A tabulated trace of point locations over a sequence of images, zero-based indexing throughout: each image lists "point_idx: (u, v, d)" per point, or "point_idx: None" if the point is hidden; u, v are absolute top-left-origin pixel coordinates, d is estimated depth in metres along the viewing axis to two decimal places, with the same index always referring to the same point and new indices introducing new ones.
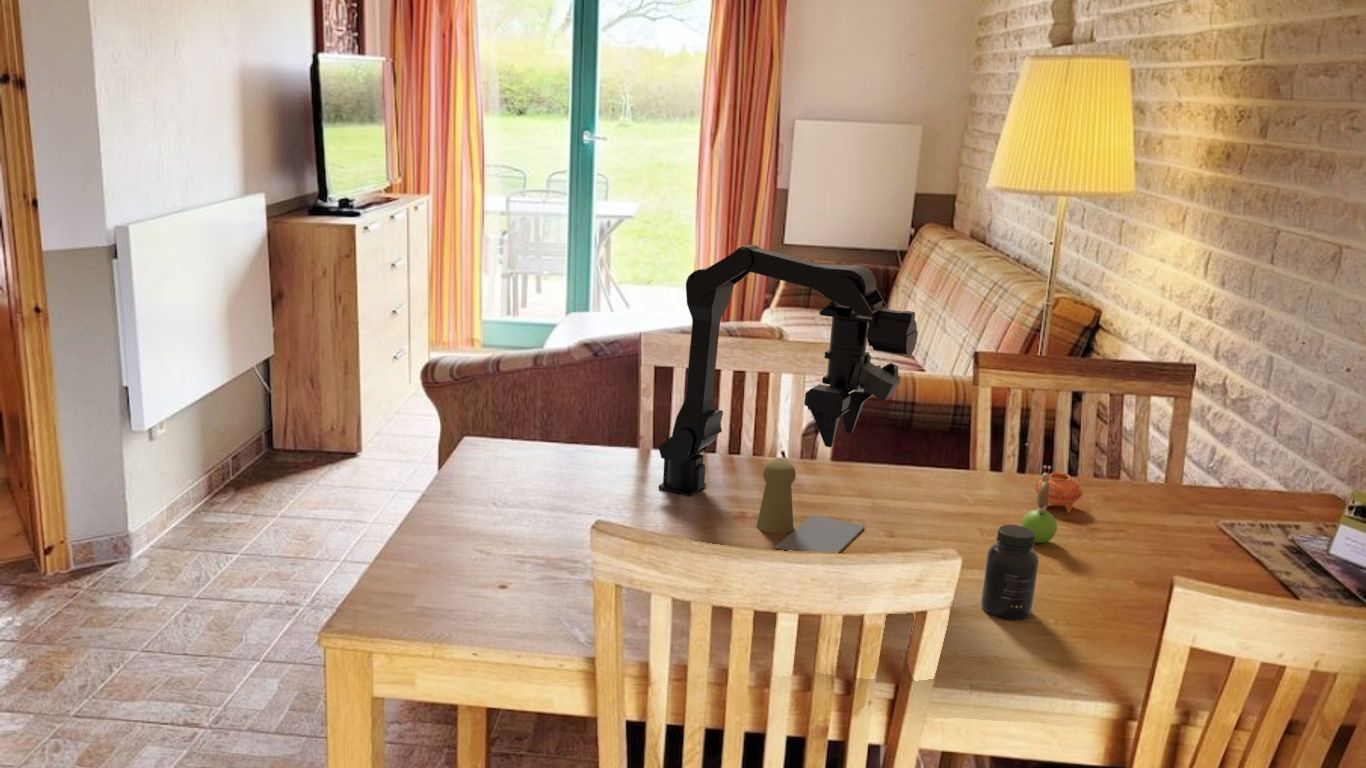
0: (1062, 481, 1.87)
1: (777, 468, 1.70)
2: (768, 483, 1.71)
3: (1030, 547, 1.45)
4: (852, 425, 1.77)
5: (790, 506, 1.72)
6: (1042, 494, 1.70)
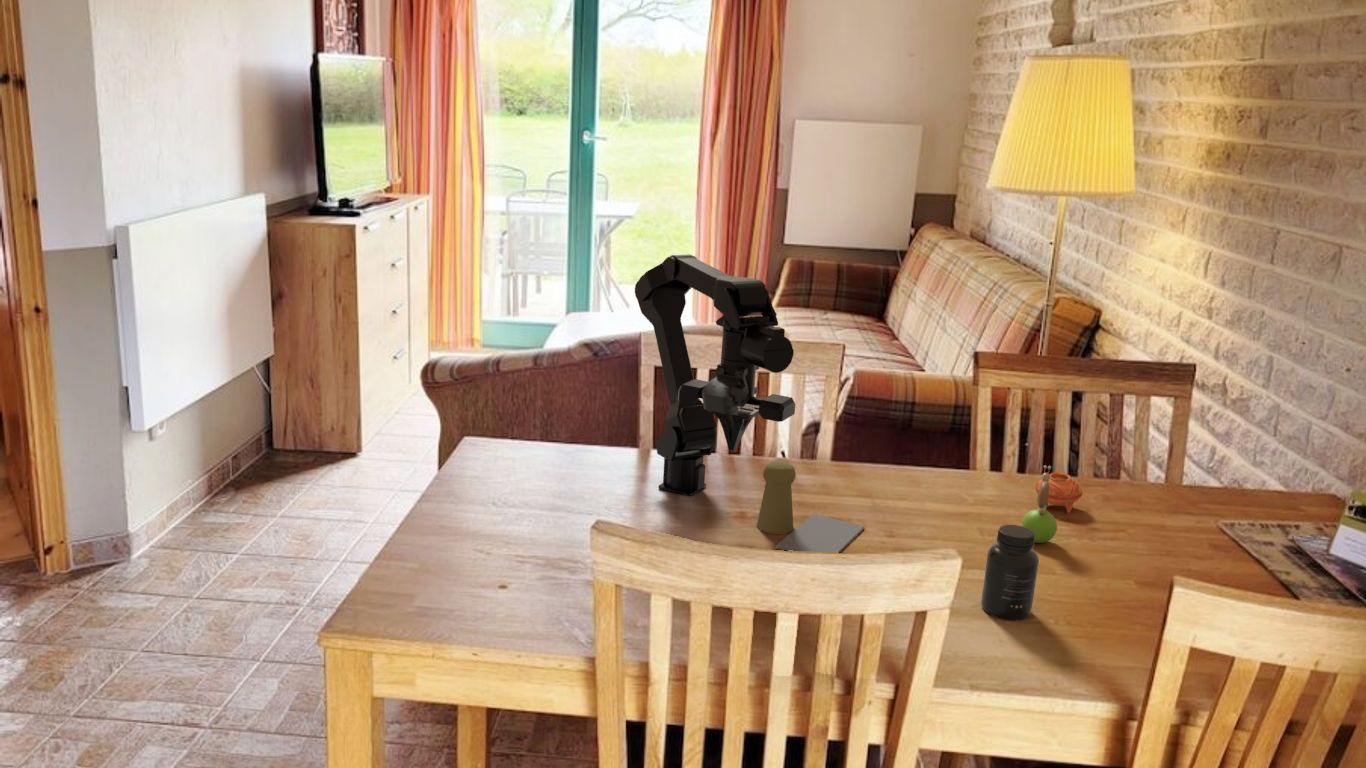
0: (1062, 481, 1.87)
1: (777, 468, 1.70)
2: (768, 483, 1.71)
3: (1030, 547, 1.45)
4: None
5: (790, 506, 1.72)
6: (1042, 494, 1.70)
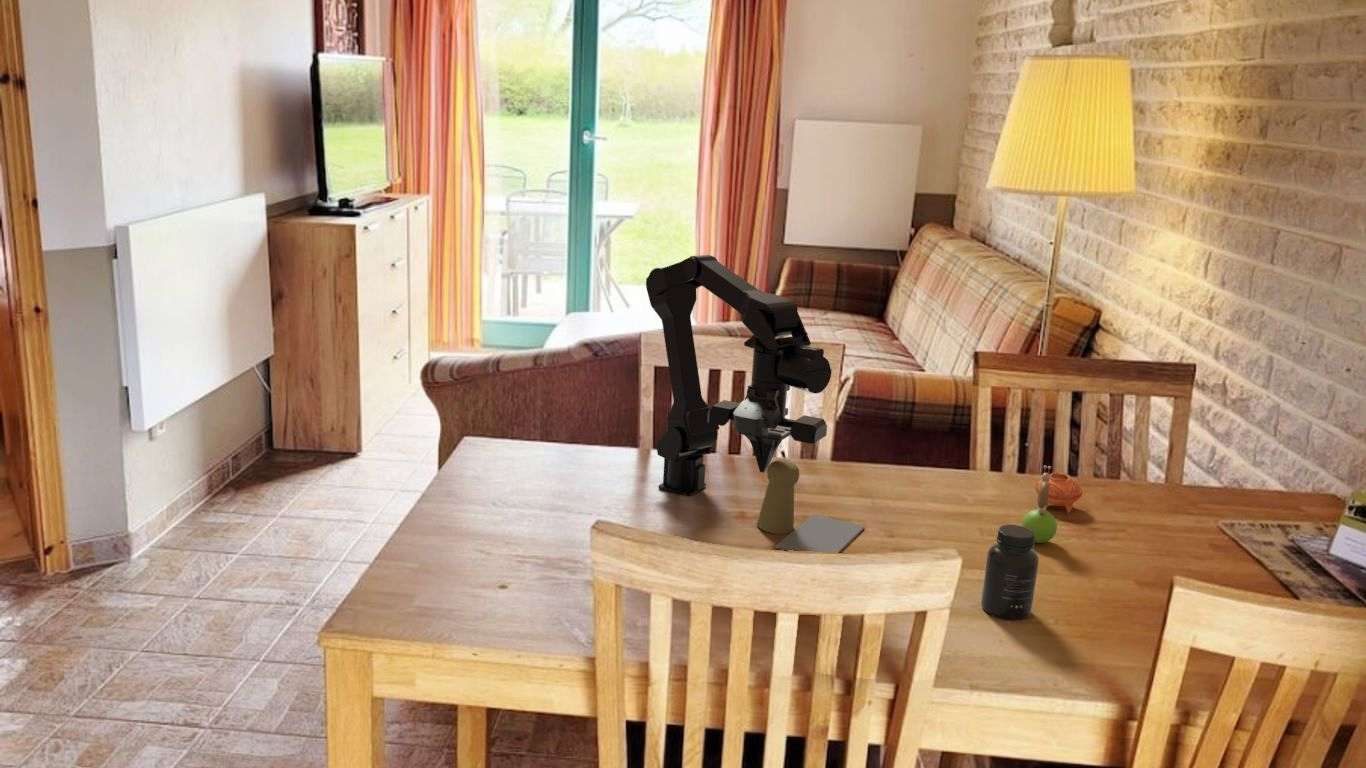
0: (1062, 481, 1.87)
1: (782, 468, 1.70)
2: (771, 482, 1.71)
3: (1030, 547, 1.45)
4: None
5: (792, 506, 1.72)
6: (1042, 494, 1.70)
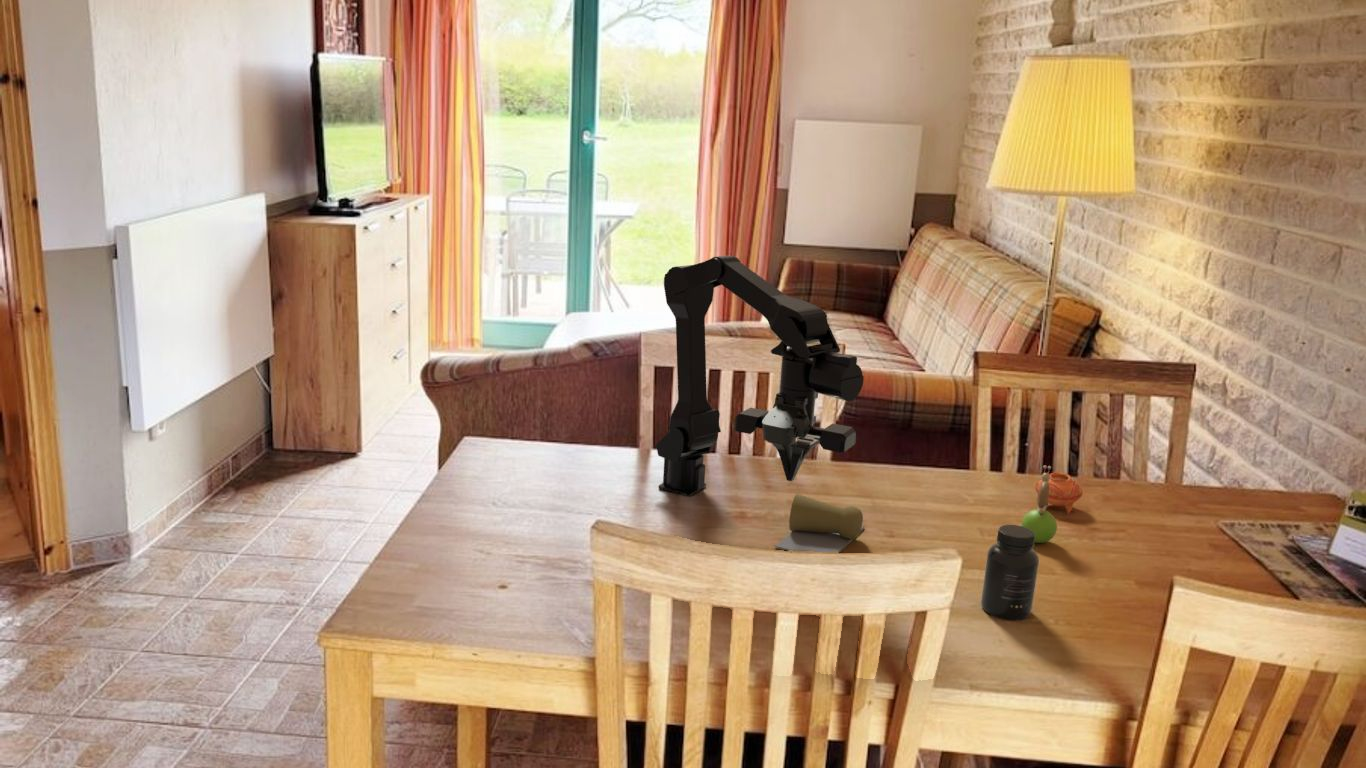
0: (1062, 481, 1.87)
1: (857, 528, 1.68)
2: (841, 517, 1.69)
3: (1030, 547, 1.45)
4: None
5: None
6: (1042, 494, 1.70)
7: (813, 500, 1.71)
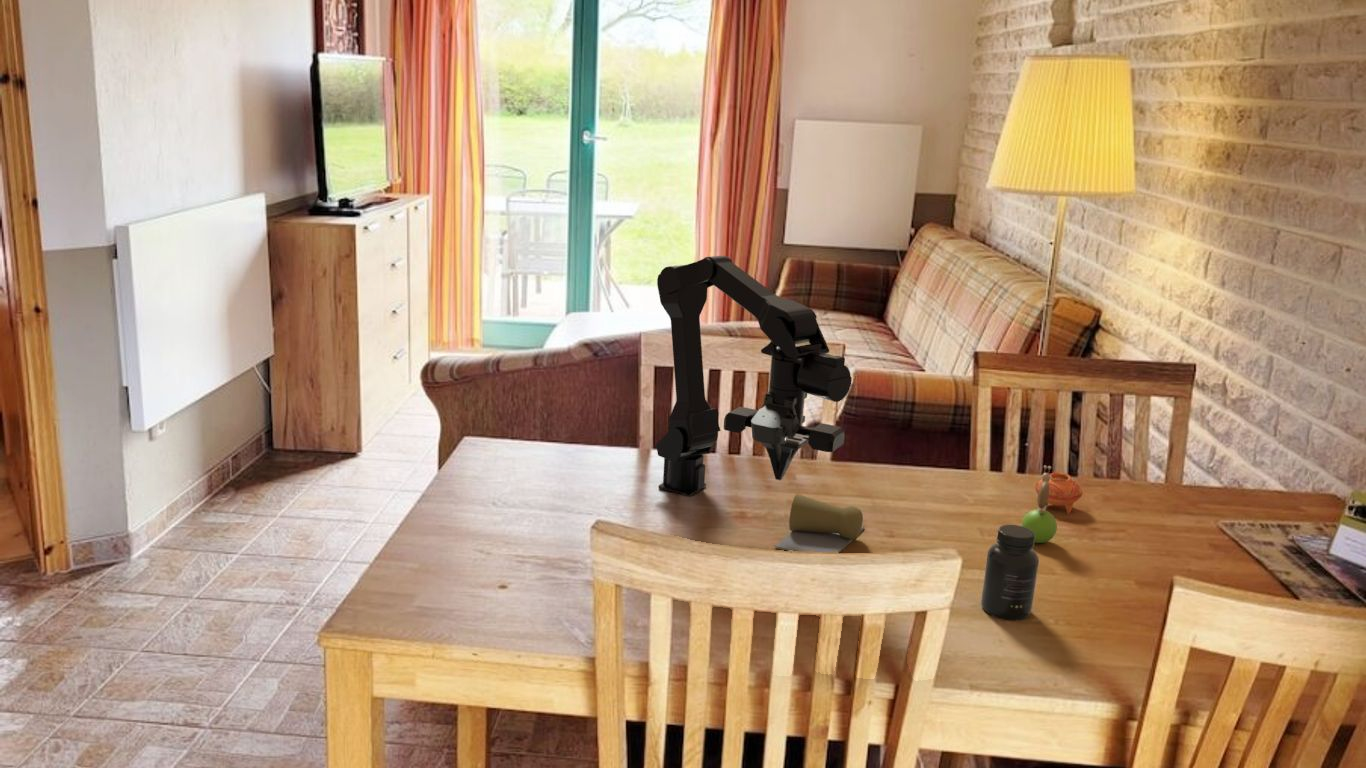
0: (1062, 481, 1.87)
1: (857, 528, 1.68)
2: (841, 517, 1.69)
3: (1030, 547, 1.45)
4: None
5: None
6: (1042, 494, 1.70)
7: (813, 500, 1.71)
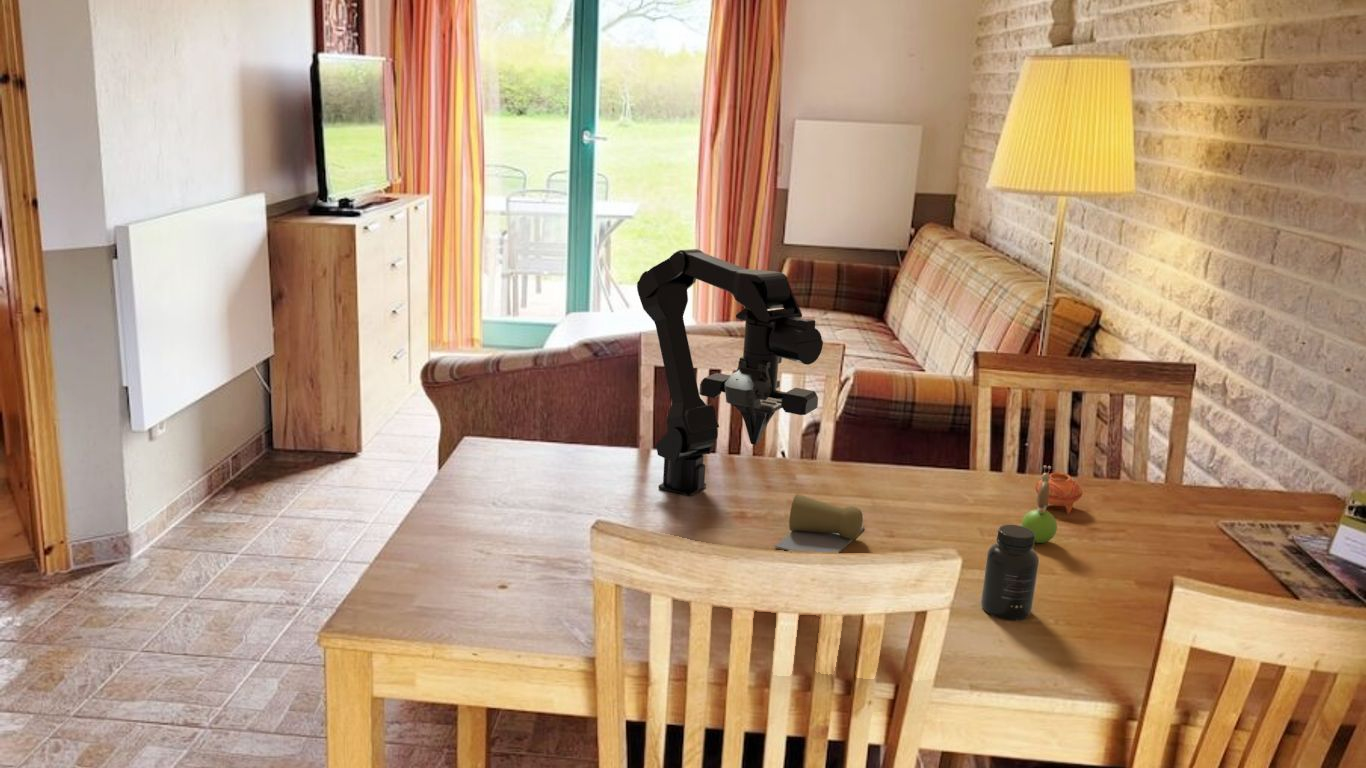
0: (1062, 481, 1.87)
1: (857, 528, 1.68)
2: (841, 517, 1.69)
3: (1030, 547, 1.45)
4: None
5: None
6: (1042, 494, 1.70)
7: (813, 500, 1.71)
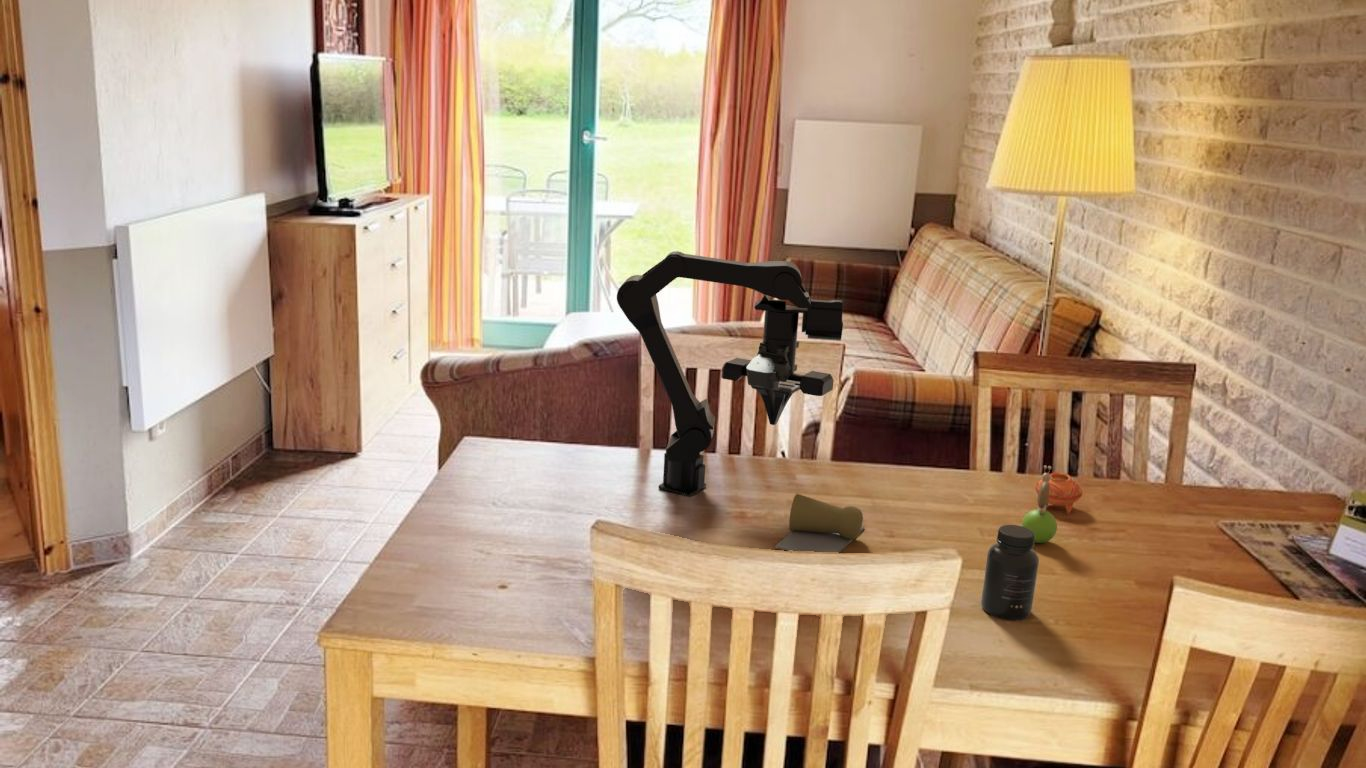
0: (1062, 481, 1.87)
1: (857, 528, 1.68)
2: (841, 517, 1.69)
3: (1030, 547, 1.45)
4: None
5: None
6: (1042, 494, 1.70)
7: (813, 500, 1.71)
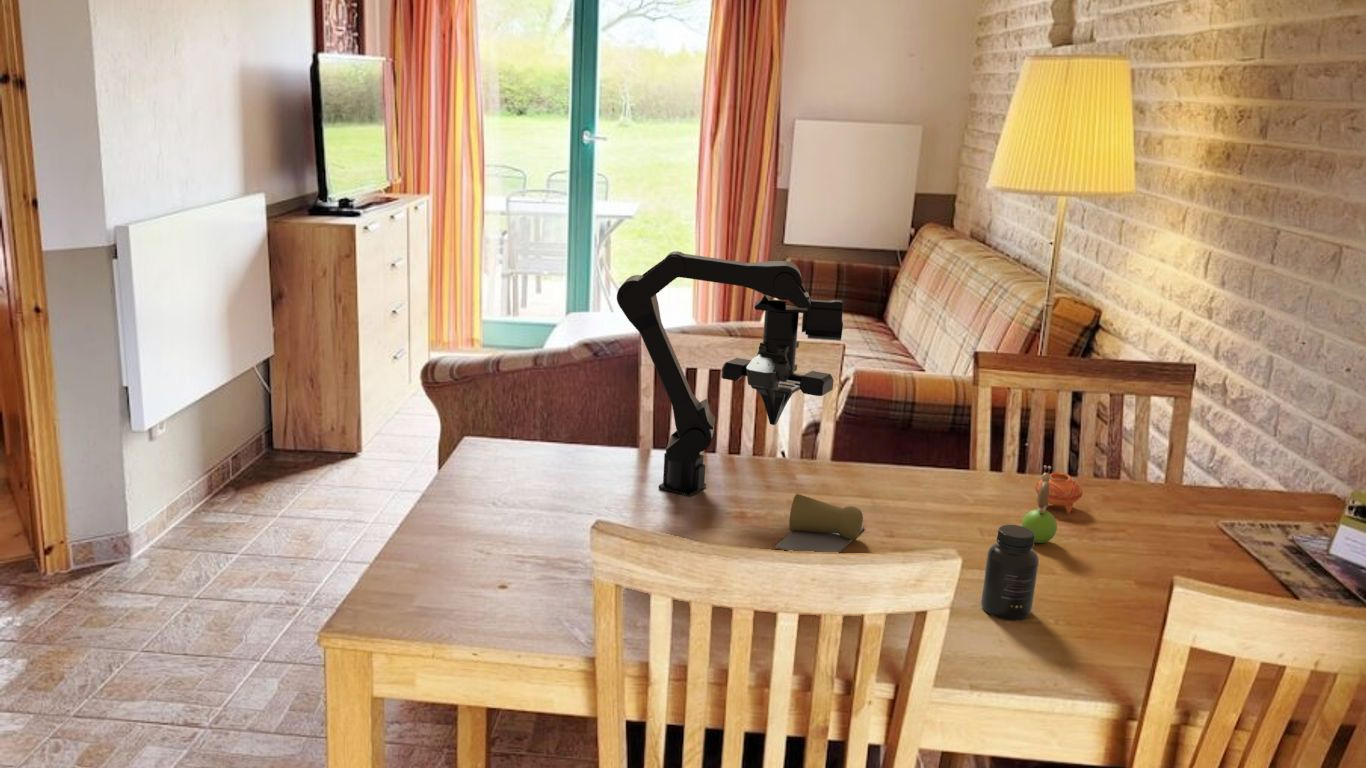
0: (1062, 481, 1.87)
1: (857, 528, 1.68)
2: (841, 517, 1.69)
3: (1030, 547, 1.45)
4: None
5: None
6: (1042, 494, 1.70)
7: (813, 500, 1.71)
